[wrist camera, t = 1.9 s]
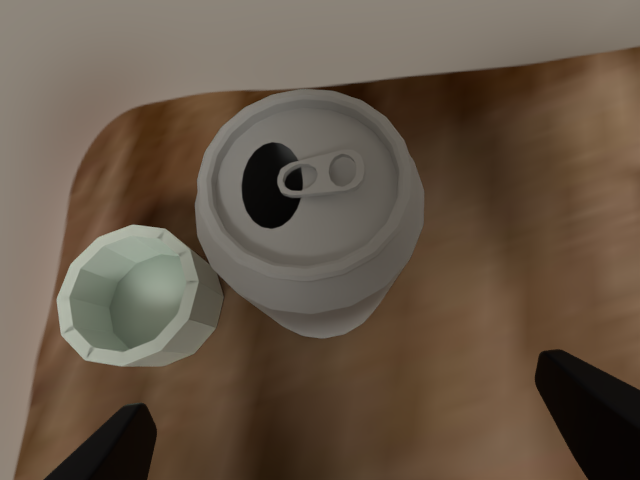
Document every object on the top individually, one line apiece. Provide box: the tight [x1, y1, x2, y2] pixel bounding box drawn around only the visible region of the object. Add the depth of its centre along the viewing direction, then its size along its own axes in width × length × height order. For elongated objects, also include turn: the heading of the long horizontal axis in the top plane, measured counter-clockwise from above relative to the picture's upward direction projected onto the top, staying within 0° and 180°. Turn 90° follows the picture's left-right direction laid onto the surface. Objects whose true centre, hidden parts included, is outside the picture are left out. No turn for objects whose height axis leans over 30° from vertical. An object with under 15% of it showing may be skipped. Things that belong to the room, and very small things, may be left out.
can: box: [195, 89, 424, 338], centre depth 15 cm, size 8×8×12 cm
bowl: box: [57, 225, 224, 366], centre depth 19 cm, size 7×7×4 cm
